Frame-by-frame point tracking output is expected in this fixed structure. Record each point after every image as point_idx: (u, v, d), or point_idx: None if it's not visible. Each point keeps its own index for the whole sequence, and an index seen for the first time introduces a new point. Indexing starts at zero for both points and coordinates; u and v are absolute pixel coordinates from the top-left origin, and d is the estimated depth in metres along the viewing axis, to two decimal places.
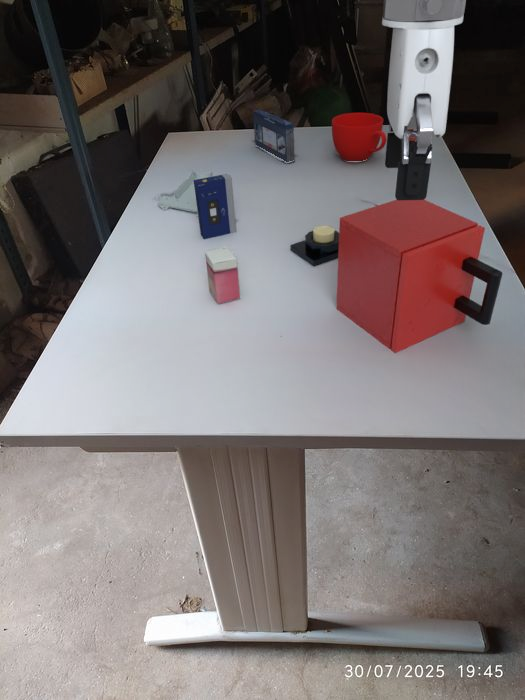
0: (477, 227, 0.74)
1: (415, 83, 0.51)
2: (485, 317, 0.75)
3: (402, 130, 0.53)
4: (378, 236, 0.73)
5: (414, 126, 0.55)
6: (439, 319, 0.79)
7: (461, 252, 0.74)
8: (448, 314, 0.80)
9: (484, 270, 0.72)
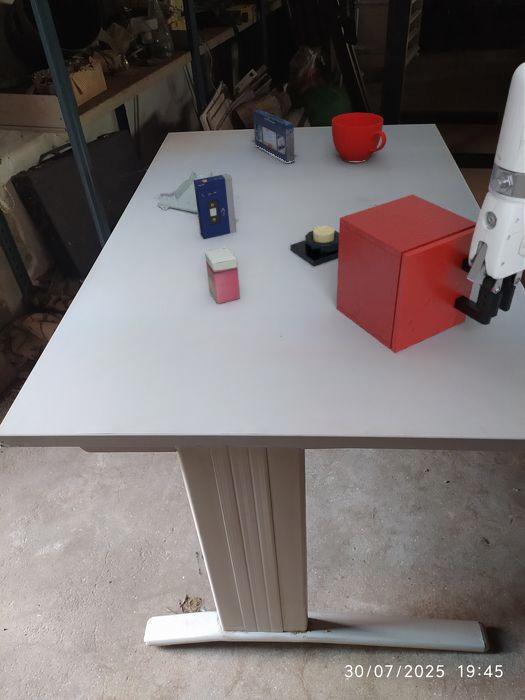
0: None
1: (480, 232, 0.65)
2: (485, 317, 0.75)
3: None
4: (378, 236, 0.73)
5: None
6: (439, 319, 0.79)
7: (461, 252, 0.74)
8: (448, 314, 0.80)
9: None
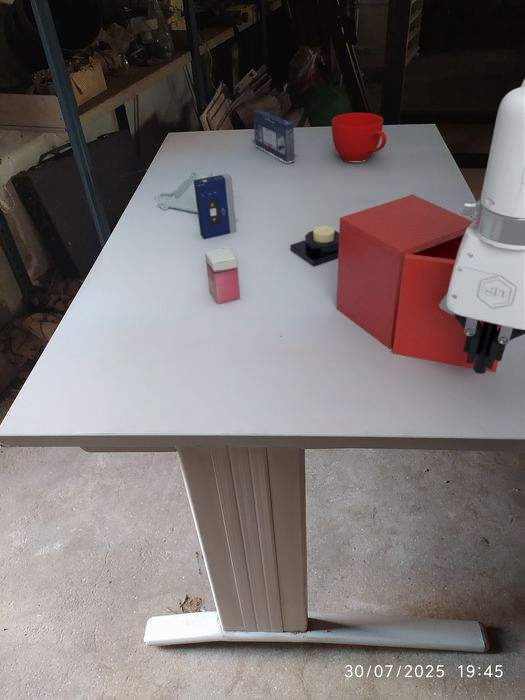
0: None
1: None
2: (475, 364, 0.68)
3: None
4: (378, 236, 0.73)
5: None
6: (454, 348, 0.74)
7: None
8: None
9: None
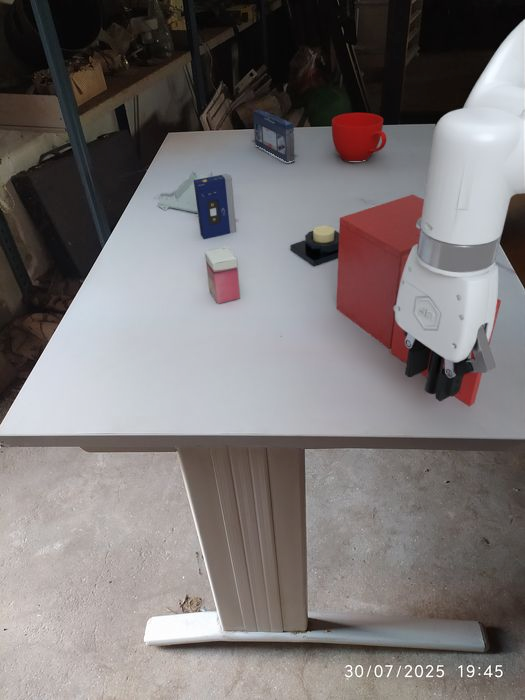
0: None
1: None
2: None
3: None
4: (378, 236, 0.73)
5: None
6: None
7: None
8: None
9: None
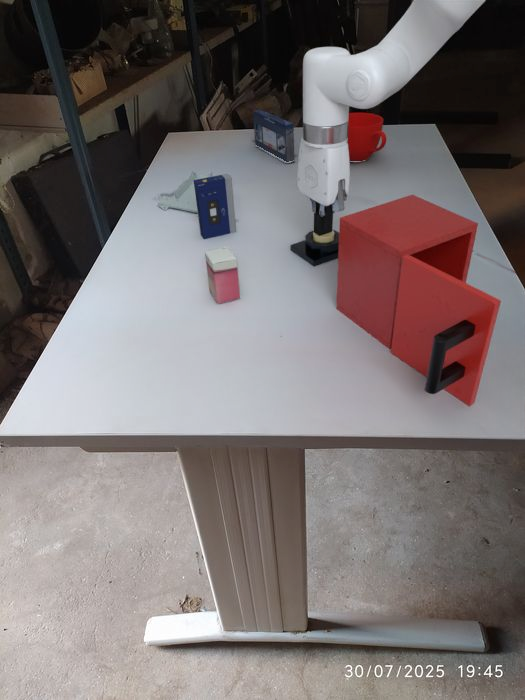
0: (493, 298, 0.60)
1: None
2: None
3: None
4: (378, 236, 0.73)
5: None
6: None
7: (462, 307, 0.63)
8: None
9: (443, 330, 0.62)
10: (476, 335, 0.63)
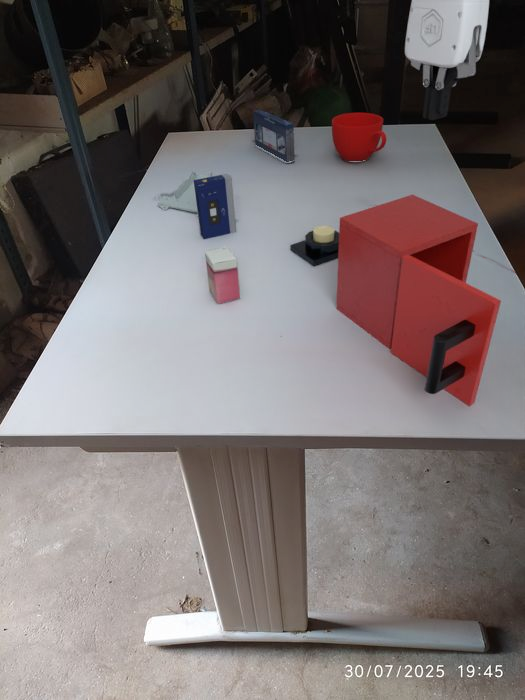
0: (493, 298, 0.60)
1: None
2: None
3: None
4: (378, 236, 0.73)
5: None
6: None
7: (462, 307, 0.63)
8: None
9: (443, 330, 0.62)
10: (476, 335, 0.63)
